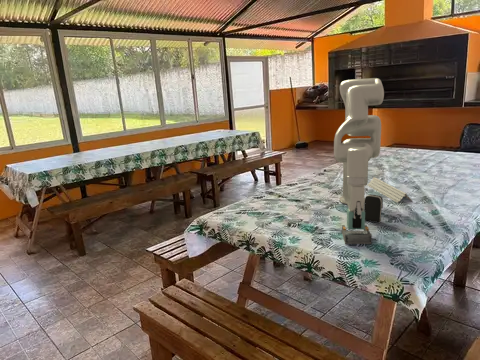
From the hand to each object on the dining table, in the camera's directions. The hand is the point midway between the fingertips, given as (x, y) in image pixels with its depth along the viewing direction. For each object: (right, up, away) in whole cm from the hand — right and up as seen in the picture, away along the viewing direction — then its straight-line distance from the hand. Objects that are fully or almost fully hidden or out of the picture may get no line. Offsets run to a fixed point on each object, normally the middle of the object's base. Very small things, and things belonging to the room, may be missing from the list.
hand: (355, 224), depth 137 cm
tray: (0, -5, 0) cm, 5 cm away
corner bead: (+33, +10, +49) cm, 60 cm away
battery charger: (+13, 0, +16) cm, 20 cm away
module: (0, -1, 0) cm, 1 cm away
